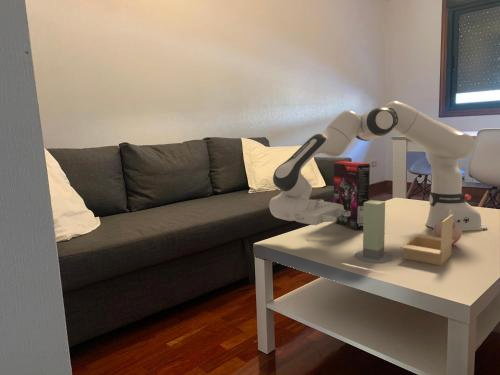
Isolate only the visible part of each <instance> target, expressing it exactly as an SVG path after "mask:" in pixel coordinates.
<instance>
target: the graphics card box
mask: <svg viewBox="0 0 500 375" xmlns="http://www.w3.org/2000/svg"><path fill="white" fill-rule="evenodd" d="M370 168H371V164H370V163H366V162H358V161H357V162H356V161H348V160H340V161H339V160H338V161H335V162H333V203H337V204H341V205H343V206H344V210H346V211H350V212H351V215H350V216H348V217H347V216H344V215H341V216H338V217H337V221H336V222H335V223H336V224H339V225H342V226H346V227H348V228H350V229H354V230H357V231H358V230H363V210H364V202H367V201H369V200H370V174H371V173H370V171H371V169H370Z"/></svg>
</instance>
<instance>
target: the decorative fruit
mask: <svg viewBox="0 0 500 375" xmlns="http://www.w3.org/2000/svg"><path fill="white" fill-rule="evenodd" d="M442 221H443V220H440V222H438V223H437V224H436V225H435V226H434V228H432V230H433V234H434V237H440V238H441V229H442ZM462 234H463V231H462V229H461V227H460V226H459V225H458V224H457V223H455V222H453V231H452V239H454V242H453V243H452V245H455V244H456V243H457V242H458V241H459V240H460V239H461V237H462V236H463V235H462Z"/></svg>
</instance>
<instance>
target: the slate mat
mask: <svg viewBox="0 0 500 375" xmlns="http://www.w3.org/2000/svg"><path fill="white" fill-rule="evenodd" d="M354 258H355V259H356V260H358V261H361V262H364V263H370V264H384V263H385V264H386V263H390V262H392V261H393V259H394V257H393V255H391V254H390V253H388V252H385V251H384V256H383V257H381V258H380V259H378V260H376V259H371V258H366V257H363V250H361V251H357V252H356V253H354Z"/></svg>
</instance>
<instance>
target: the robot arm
mask: <svg viewBox="0 0 500 375" xmlns="http://www.w3.org/2000/svg"><path fill="white" fill-rule="evenodd" d="M392 131H394V132H396V133H397V134H399V135H401V136H402V137H404V138H407V139H408V140H409V141H411V142H414V143H415V144H417V145H419V146H421V147H422V146H423V147H424V149H425V151H426V153H427V154H428V159H429V164H430V170H431V190H430V192H429V211H428V217H427V219H426V222H425V226H427V227H429V228H432V229H433V228H434V226H435V225H436V224H437V223H438V222H440V220H445V219H446V218H448V217H449V216H450V215H452V214H453V222H455V223H457V224H458V225H459V226H460V227H461V229H462V232H468V230H473V231H484V230H483V229H487V230H488V225H487V224H485V223H484V222H482V217H481V214H480V212H479V211H478V210H477V209H476V208H475V207H473V206H472V205H470V203H468V202H467V201H470V200H471V198H472V196H471V195H469V194H468V193H466V194H465V193H463V192H462V189H463V188H462V186H463V173H462V171H461V169H460V168H459V164H458V161H459V160H465V159H468V158H469V157H470V156H472V154H474V151H475V149H476V142H475V139H474V138H473V137H472V136H471V134H468V133H466V132H463V131H460V130H458V129H456V128H454V127H452V126H449V125H448V124H446V123H444V122H440V121H438V120H435V119H433V118H431V117H430V116H429V115H427V114H425V113H423V112H421V111H420V110H418V109H416V108H414V107H413V106H411V105H408V104H406V103H403V102H401V101H397V100H392V101H390V102H388V103H387V104H386V105H385V106H384V107H375V108H373V109H371V110H369V111H366V112H364V113H363V114H361V115H359V114H357V113H356V112H355V111H352V110H343V111H342V112H340V113H339V114H337V116H336V117H335V118H334V119H333V120H332V121H331V122H330V123H329V124H328V126H326V128H325V129H324V130H323V131H322V132H320V133H317V134H314V135H313V136H311V137H310V138H309V139H307V141H305V142H304V143H303V144H302V145H301V146H300V147H299V148H298V149H297V150H296V151H295V152H294V153H293V154H292V155H291V156H290V157H289V158H288V159H287V160H286V161H284V162H283V163H281V164H280V165H279V166H278V167H277V168H276V169H274V173H273V176H272V182H273V185H274V186H275V187H276V188H278V190H281V192H280V193H278V194H277V195H275V196H273V197H271V199H270V200H269V205H268V206H269V211H270V213H271V215H272V216H273V217H274V218H276V219H279V220H280V219H281V220H285V221H289V222H293V221H295V222H297V223H299V224H300V223H301V224H307V225H310V226H317V225H320V224H324V223H336V221H337V217H338V216H341V215H344V216H347V217H348V216H350V215H351V212H350V211H346V210H344V206H343V205H341V204H337V203H334V202H330V201H324V199H320V198H319V199H311V197H312V194H313V187H312V185H311V183H310V182H309V180H308V179H307V178H306V177H305V176H304V175H303V173H302V169H303V168H304V167H305V166H306V165H307V164H308V163H309V162H310V161H311V160H312V159H313V158H314V157H315V156H316V155H318V154H322V155H325V156H327V157H339V156H340V155H342V154H344V152H346V151H347V149H348V147H349V146H350V145H351V144H352V143H353V141H354V139H355V138H356V139H357V140H360V141H364V142H366V141H367V142H368V141H371V140H376V139H380V138H381V137H383V136H386V135H388V134H390V132H392ZM466 200H467V201H466Z"/></svg>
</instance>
